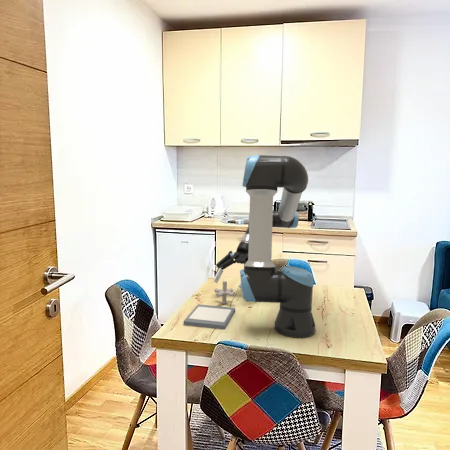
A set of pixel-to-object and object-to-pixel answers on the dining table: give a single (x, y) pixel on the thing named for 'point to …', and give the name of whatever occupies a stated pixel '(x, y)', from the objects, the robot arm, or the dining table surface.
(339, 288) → the dining table surface
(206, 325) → the board
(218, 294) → the pipe connector
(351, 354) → the dining table surface
